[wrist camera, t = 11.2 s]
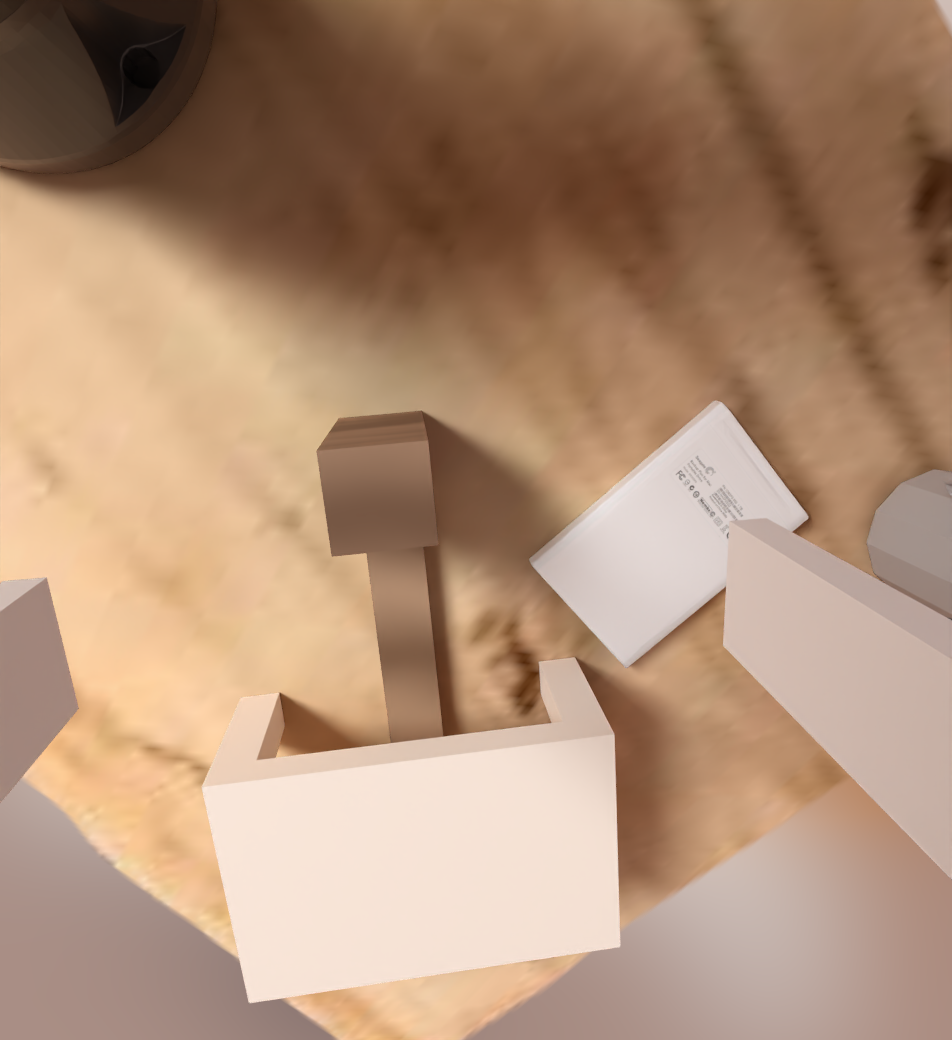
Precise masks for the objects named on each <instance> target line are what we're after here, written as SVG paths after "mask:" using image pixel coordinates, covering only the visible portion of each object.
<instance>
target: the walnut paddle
mask: <svg viewBox="0 0 952 1040" xmlns="http://www.w3.org/2000/svg"><path fill="white" fill-rule="evenodd" d="M317 457H318V464H319V471H320V478H321V485H322V492H323V499H324V506H325V512H326V519H327V526H328V533H329V540H330V547H331V554H332V556H342V555H351V554H361V553H367V560H368V568H369V576H370V584H371V591H372V599H373V607H374V615H375V622H376V630H377V638H378V646H379V653H380V661H381V669H382V677H383V685H384V692H385V700H386V708H387V716H388V723H389V731H390V739H391V743H397V742H405V741H413V740H420V739H428V738H436V737H443V728H442V718H441V709H440V699H439V690H438V680H437V671H436V661H435V652H434V642H433V633H432V623H431V614H430V604H429V594H428V585H427V575H426V566H425V556H424V547H426V546H436V545H439V544H438V534H437V524H436V514H435V504H434V494H433V483H432V473H431V463H430V453H429V443H428V437H427V432H426V428H425V423H424V419H423V414H422V411H415V412H404V413H393V414H382V415H371V416H360V417H349V418H339V419H338V420H337V422H336V423H335V425H334V426H333V428H332V429H331V431H330V432H329V434H328V435H327V436H326V438H325V439H324V441H323V442H322V444H321V445H320V447H319V448H318V450H317Z"/></svg>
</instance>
